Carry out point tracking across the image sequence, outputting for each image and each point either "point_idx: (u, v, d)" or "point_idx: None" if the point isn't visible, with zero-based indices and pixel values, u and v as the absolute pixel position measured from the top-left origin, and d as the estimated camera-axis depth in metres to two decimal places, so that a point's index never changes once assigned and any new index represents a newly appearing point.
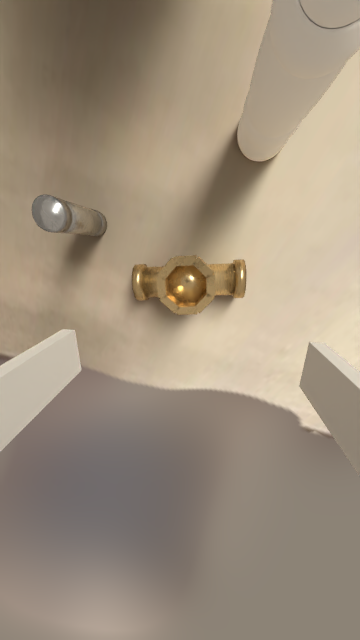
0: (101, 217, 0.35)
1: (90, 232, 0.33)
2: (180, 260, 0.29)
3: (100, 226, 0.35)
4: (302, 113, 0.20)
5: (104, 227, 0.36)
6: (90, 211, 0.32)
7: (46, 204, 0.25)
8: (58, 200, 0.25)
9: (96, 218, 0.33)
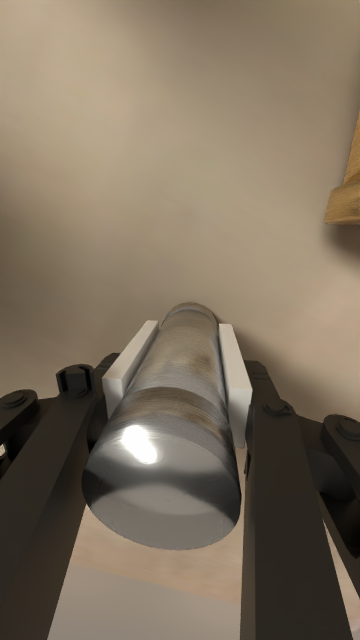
0: (180, 308, 0.15)
1: (215, 338, 0.12)
2: None
3: (200, 314, 0.14)
4: None
5: (201, 307, 0.15)
6: (165, 327, 0.12)
7: (119, 492, 0.05)
8: (106, 435, 0.05)
9: (183, 316, 0.13)
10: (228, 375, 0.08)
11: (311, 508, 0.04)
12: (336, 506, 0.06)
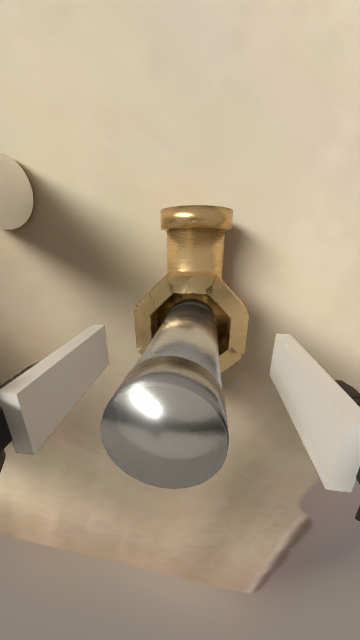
0: (181, 303, 0.16)
1: (214, 328, 0.13)
2: (141, 337, 0.16)
3: (200, 307, 0.15)
4: None
5: (201, 302, 0.16)
6: (168, 318, 0.14)
7: (131, 434, 0.07)
8: (121, 388, 0.07)
9: (184, 309, 0.14)
10: (332, 404, 0.07)
11: None
12: None
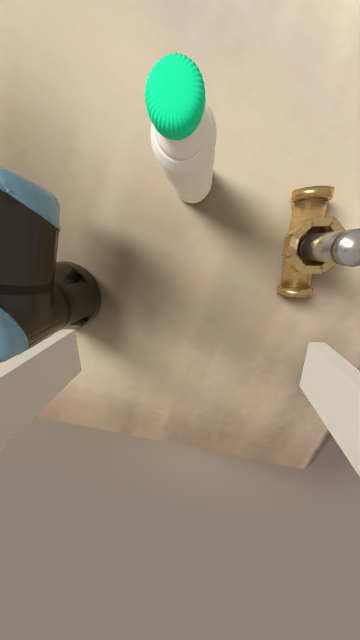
0: (312, 234, 0.33)
1: None
2: (291, 250, 0.33)
3: None
4: None
5: None
6: (316, 235, 0.31)
7: (349, 246, 0.24)
8: (346, 234, 0.24)
9: (321, 233, 0.31)
10: None
11: None
12: None
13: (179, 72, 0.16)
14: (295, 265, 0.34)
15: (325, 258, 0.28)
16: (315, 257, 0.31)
